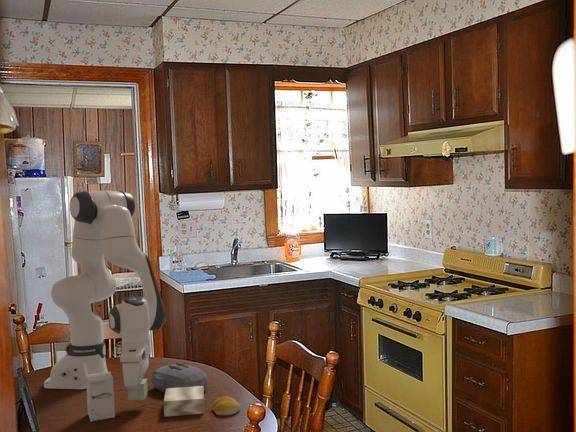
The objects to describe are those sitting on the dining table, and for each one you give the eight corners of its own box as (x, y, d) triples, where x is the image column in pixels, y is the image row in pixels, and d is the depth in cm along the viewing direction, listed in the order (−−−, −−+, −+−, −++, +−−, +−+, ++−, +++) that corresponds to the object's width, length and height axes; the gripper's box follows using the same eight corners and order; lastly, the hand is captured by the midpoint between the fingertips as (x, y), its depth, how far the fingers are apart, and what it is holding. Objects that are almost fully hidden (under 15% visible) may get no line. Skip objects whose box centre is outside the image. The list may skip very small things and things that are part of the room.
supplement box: (90, 422, 190) (88, 381, 189) (87, 414, 196) (85, 374, 196) (115, 418, 193) (113, 377, 192) (112, 410, 199) (110, 370, 199)
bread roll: (217, 418, 191) (216, 405, 190) (210, 408, 199) (209, 396, 199) (243, 413, 193) (243, 401, 193) (235, 404, 202) (235, 392, 202)
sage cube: (128, 400, 197) (127, 384, 197) (131, 394, 202) (131, 379, 202) (144, 399, 197) (143, 384, 197) (147, 394, 202) (146, 378, 202)
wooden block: (164, 417, 193) (163, 401, 192) (166, 403, 205) (166, 388, 204) (204, 414, 194) (203, 398, 194) (204, 400, 206) (203, 385, 206)
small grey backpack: (145, 390, 218) (185, 402, 205) (144, 366, 217) (184, 376, 205) (179, 378, 229) (218, 389, 217) (178, 355, 229) (217, 365, 216)
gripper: (133, 340, 209) (134, 381, 210) (118, 358, 188) (120, 403, 190) (152, 339, 209) (153, 380, 210) (140, 358, 189) (141, 403, 190)
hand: (137, 391), depth 200 cm, fingers closed on sage cube, 5 cm apart
